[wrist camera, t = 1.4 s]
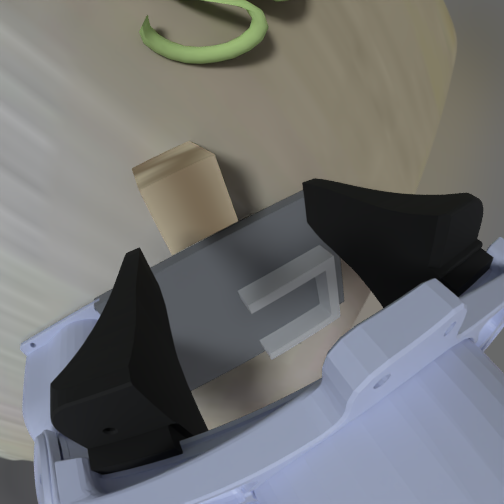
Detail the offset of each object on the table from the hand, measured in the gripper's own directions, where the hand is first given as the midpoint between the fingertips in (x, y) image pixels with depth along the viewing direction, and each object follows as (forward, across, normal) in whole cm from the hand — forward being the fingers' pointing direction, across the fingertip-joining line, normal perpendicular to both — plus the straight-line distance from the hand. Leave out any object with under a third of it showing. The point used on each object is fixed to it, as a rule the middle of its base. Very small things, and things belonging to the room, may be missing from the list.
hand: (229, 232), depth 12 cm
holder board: (+8, -1, +12) cm, 15 cm away
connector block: (+9, +1, 0) cm, 9 cm away
